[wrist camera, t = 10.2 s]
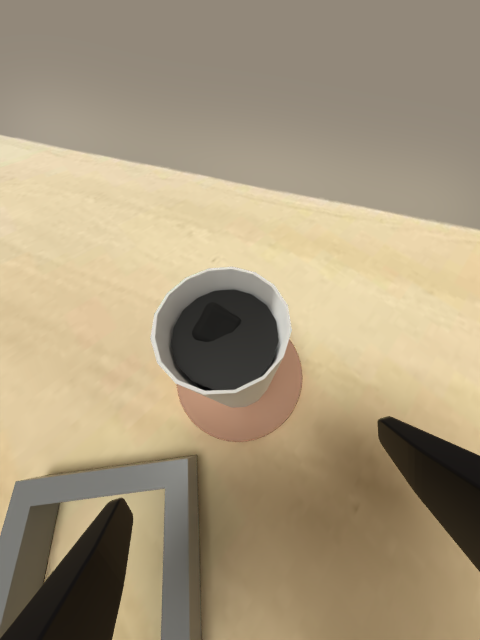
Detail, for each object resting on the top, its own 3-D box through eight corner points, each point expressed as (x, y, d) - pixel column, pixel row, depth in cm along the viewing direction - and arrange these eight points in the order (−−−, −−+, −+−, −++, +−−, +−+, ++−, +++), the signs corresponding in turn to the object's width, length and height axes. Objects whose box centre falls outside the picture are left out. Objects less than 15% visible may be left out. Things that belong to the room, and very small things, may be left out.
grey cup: (184, 385, 19) (120, 345, 10) (226, 325, 21) (204, 250, 13) (251, 431, 17) (243, 430, 8) (289, 359, 20) (315, 298, 11)
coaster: (286, 310, 22) (286, 307, 22) (316, 431, 17) (318, 431, 17) (179, 326, 23) (177, 323, 22) (178, 450, 18) (175, 450, 17)
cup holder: (197, 455, 17) (187, 458, 15) (203, 716, 12) (190, 782, 10) (46, 475, 17) (15, 481, 15) (-16, 742, 12) (-79, 813, 10)
